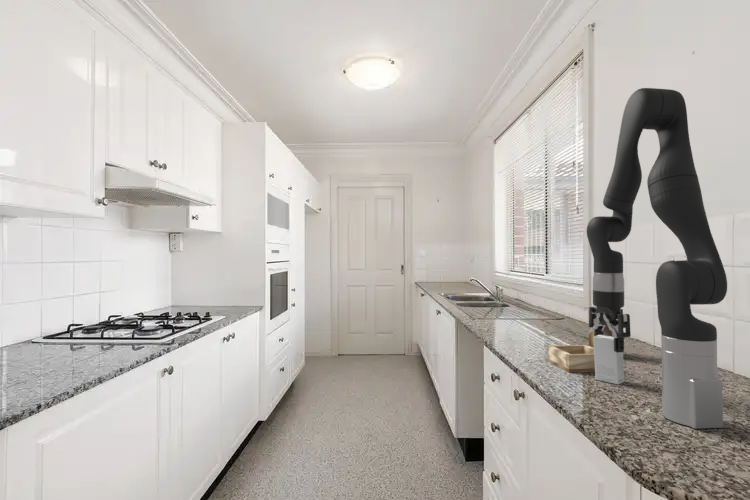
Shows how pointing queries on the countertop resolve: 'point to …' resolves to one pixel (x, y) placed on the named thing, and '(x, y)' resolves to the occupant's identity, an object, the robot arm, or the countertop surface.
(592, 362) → the light wooden tray
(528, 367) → the countertop surface
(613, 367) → the skincare box
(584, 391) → the countertop surface
